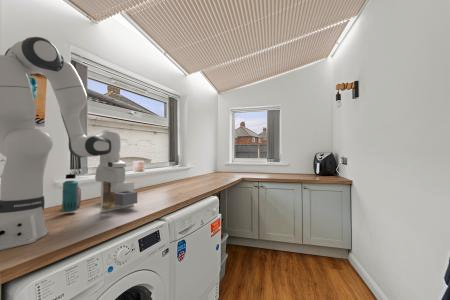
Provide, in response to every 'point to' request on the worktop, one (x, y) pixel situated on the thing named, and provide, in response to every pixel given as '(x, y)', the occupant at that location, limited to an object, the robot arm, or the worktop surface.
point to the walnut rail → (108, 196)
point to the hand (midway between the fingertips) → (108, 191)
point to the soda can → (79, 197)
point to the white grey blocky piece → (122, 196)
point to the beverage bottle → (70, 194)
